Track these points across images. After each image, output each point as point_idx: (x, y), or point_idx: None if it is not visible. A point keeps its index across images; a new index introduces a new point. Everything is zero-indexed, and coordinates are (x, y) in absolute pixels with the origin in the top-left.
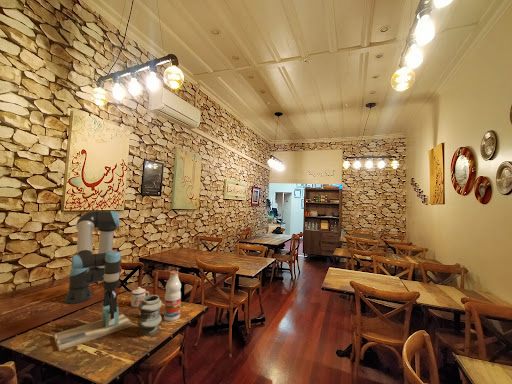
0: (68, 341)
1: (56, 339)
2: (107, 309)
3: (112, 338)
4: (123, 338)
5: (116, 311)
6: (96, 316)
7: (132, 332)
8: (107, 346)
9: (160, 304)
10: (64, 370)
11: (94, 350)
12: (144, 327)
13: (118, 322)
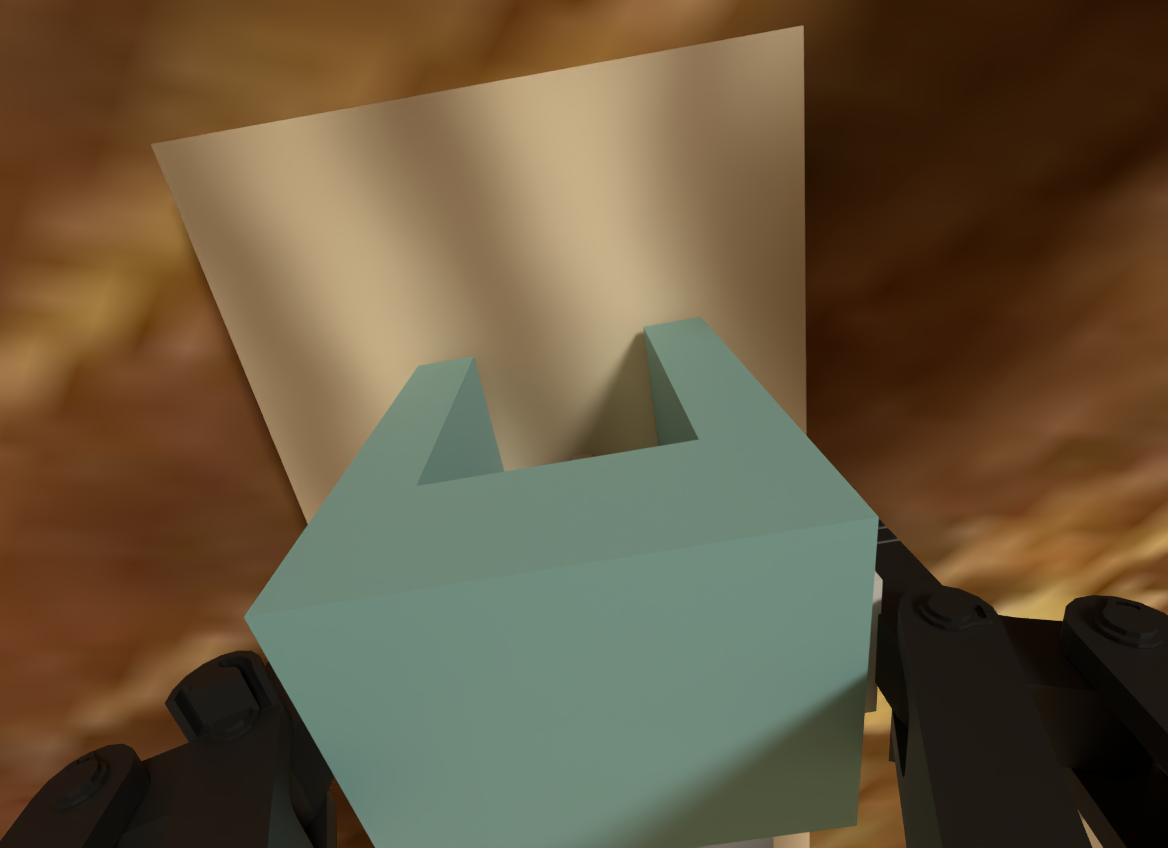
0: (756, 839)
1: None
2: (696, 803)
3: (953, 419)
4: (1096, 278)
5: (1158, 617)
6: (25, 551)
7: (1033, 90)
8: (1106, 493)
9: None
10: None
11: (1059, 611)
12: None
13: (709, 327)
